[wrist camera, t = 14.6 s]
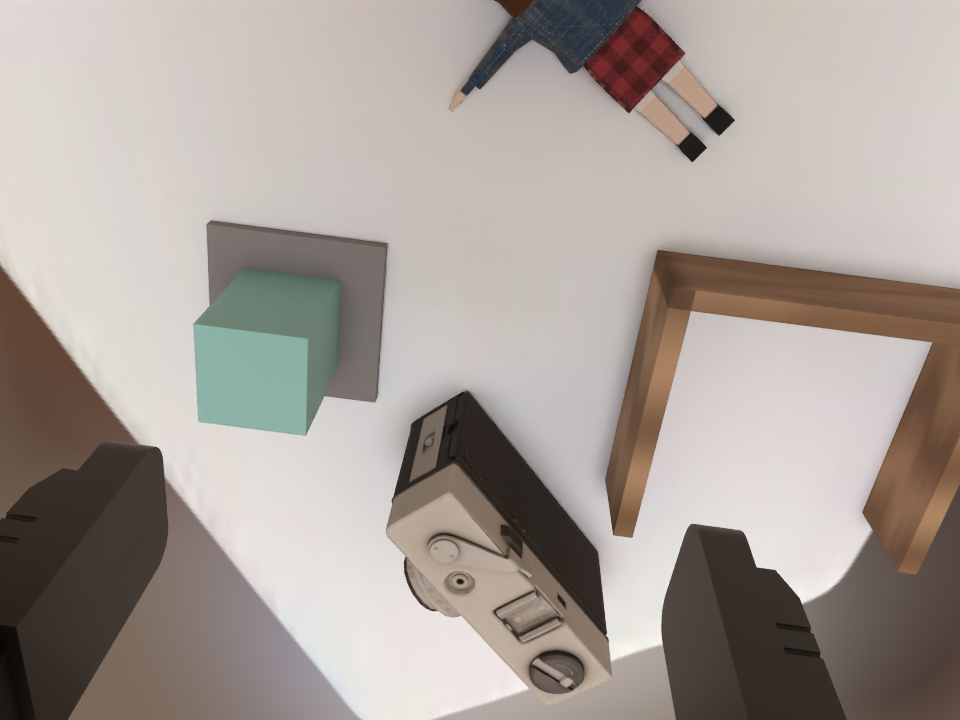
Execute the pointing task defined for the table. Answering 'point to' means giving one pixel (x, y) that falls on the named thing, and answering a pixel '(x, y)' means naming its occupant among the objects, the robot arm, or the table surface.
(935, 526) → the bay
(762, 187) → the table surface
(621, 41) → the toy
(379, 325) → the mat
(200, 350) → the block
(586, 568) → the camera
